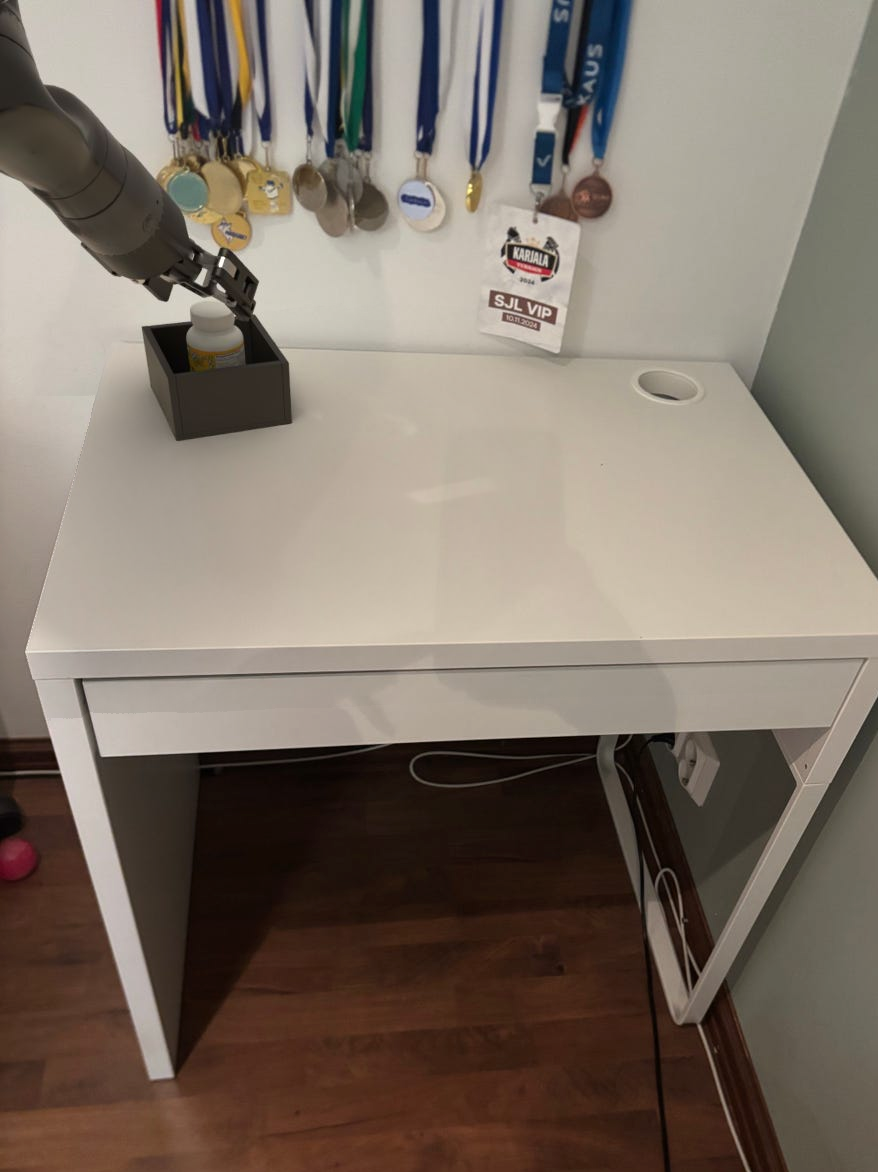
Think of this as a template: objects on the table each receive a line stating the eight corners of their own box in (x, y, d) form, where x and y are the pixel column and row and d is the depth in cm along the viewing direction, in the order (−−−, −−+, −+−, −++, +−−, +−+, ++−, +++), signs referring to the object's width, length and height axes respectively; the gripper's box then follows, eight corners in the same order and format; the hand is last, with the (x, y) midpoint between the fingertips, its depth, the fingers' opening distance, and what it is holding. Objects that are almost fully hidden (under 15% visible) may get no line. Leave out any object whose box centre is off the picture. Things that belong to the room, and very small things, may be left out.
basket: (176, 440, 91) (167, 378, 87) (150, 386, 98) (141, 326, 94) (292, 423, 95) (289, 362, 91) (259, 372, 103) (254, 314, 98)
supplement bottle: (257, 406, 96) (250, 314, 90) (207, 418, 94) (196, 324, 87) (234, 384, 99) (226, 293, 93) (185, 394, 97) (173, 302, 90)
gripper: (212, 180, 73) (288, 280, 89) (52, 145, 75) (153, 249, 91) (182, 272, 73) (263, 356, 88) (22, 234, 75) (128, 322, 91)
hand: (207, 301), depth 90 cm, fingers open, 8 cm apart
